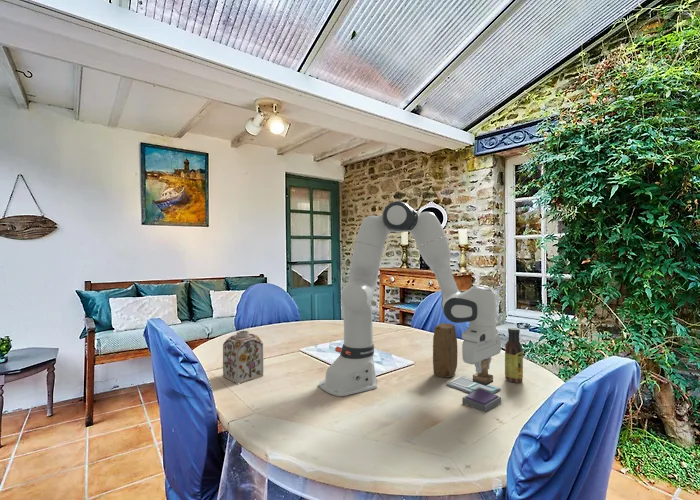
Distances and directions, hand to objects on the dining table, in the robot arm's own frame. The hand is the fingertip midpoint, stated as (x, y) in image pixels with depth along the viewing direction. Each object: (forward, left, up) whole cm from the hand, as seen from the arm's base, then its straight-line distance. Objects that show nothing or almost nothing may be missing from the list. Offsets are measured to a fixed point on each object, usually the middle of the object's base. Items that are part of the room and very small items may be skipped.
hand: (482, 370), depth 123 cm
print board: (0, +4, -7) cm, 8 cm away
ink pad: (-9, -5, -7) cm, 13 cm away
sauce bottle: (+18, -3, -7) cm, 20 cm away
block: (+4, +18, -7) cm, 20 cm away
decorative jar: (-60, +68, -8) cm, 91 cm away
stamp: (0, 0, -4) cm, 4 cm away
